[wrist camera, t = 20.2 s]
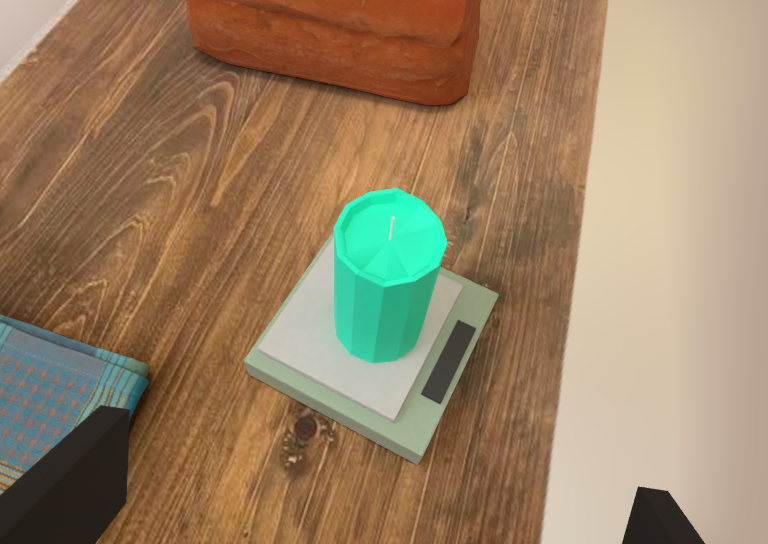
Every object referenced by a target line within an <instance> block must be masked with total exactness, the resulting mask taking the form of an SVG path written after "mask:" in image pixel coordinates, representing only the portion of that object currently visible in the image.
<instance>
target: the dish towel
mask: <svg viewBox="0 0 768 544" xmlns="http://www.w3.org/2000/svg"><path fill="white" fill-rule="evenodd" d="M149 370H150V366H149V365H148V364H146V363H143V362H140V361H138V360H135V359H133V358H129V357H126V356H124V355H120V354H117V353H114V352H110V351H107V350H104V349H101V348H98V347H94V346H91V345H88V344H86V343H83V342H80V341H76V340H74V339H71V338H69V337H65V336H62V335H59V334H57V333H54V332H51V331H48V330H45V329H42V328H39V327H37V326H34V325H31V324H29V323H25V322H23V321H20V320H16V319H13V318H10V317H7V316H4V315H1V314H0V495H1V494H2V493H3V492H4V491H5V490H6V489H7V488H9V487H10V486H11V485H12V484H13V483H14V482H15V481H16V480H18V479H19V478H20V477H21V476H22V475H23V474H24V473H25V472H26V471H28V470H29V469H30V468H31V467H32V466H33V465H34V464H35V463H36V462H38V461H39V460H40V459H41V458H42V457H43V456H44V455H45V454H46V453H48V452H49V451H50V450H51V449H52V448H53V447H54V446H55V445H56V444H58V443H59V442H60V441H61V440H62V439H63V438H64V437H65V436H67V435H68V434H69V433H70V432H71V431H72V430H73V429H74V428H75V427H77V426H78V425H79V424H80V423H81V422H82V421H83V420H84V419H85V418H87V417H88V416H89V415H90V414H91V413H92V412H93V411H94V410H95V409H97V408H98V407H99V406H100V405H104V406H110V407H117V408H124V409H130V419H131V417H132V415H133V413H134V410H135V407H136V405H137V403H138V401H139V399H140V397H141V396H142V394H143V392H144V391H145V389H146V387H147V386H148V384H149V380H147V379H146V377H147V375H148V372H149Z"/></svg>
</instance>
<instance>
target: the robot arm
mask: <svg viewBox="0 0 768 544" xmlns="http://www.w3.org/2000/svg"><path fill="white" fill-rule="evenodd" d="M129 420H130V409H124V408H117V407H110V406H104V405H100V406H99V407H98V408H97V409H95V410H94V411H93V412H92V413H91V414H90V415H89V416H88V417H87V418H85V419H84V420H83V421H82V422H81V423H80V424H79V425H78V426H77V427H75V428H74V429H73V430H72V431H71V432H70V433H69V434H68V435H67V436H65V437H64V438H63V439H62V440H61V441H60V442H59V443H58V444H56V445H55V446H54V447H53V448H52V449H51V450H50V451H49V452H48V453H46V454H45V455H44V456H43V457H42V458H41V459H40V460H39V461H38V462H36V463H35V464H34V465H33V466H32V467H31V468H30V469H29V470H28V471H26V472H25V473H24V474H23V475H22V476H21V477H20V478H19V479H18V480H16V481H15V482H14V483H13V484H12V485H11V486H10V487H9V488H7V489H6V490H5V491H4V492H3V493H2V494H1V495H0V544H95V543H96V542H97V540H98V539H99V538H100V536H101V535H102V534H103V532H104V531H105V530H106V528H107V527H108V526H109V524H110V523H111V522H112V521H113V519H114V518H115V517H116V515H117V514H118V513H119V511H120V510H121V509H122V507H123V506H124V505H125V503H126V495H127V470H128V445H129ZM622 544H705V543H704V541H703V540H702V539H701V537H700V536H699V534H698V533H697V532H696V530H695V529H694V527H693V526H692V525H691V523H690V522H689V520H688V519H687V517H686V516H685V515H684V513H683V512H682V510H681V509H680V508H679V506H678V505H677V503H676V502H675V500H674V499H673V497H672V496H671V495H670V493H669V492H668V491H664V490H657V489H651V488H645V487H638V489H637V492H636V496H635V499H634V503H633V506H632V510H631V514H630V517H629V521H628V524H627V528H626V531H625V535H624V538H623V542H622Z"/></svg>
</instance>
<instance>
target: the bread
mask: <svg viewBox="0 0 768 544" xmlns="http://www.w3.org/2000/svg"><path fill="white" fill-rule="evenodd" d="M187 16H188V20H189V25H190V29H191V33H192V38H193V42H194V46H195V47H196V48H197V49H198V50H200V51H202V52H204V53H206V54H208V55H210V56H212V57H214V58H216V59H218V60H220V61H222V62H224V63H228V64H233V65H238V66H242V67H247V68H252V69H256V70H261V71H267V72H272V73H278V74H283V75H289V76H294V77H300V78H305V79H309V80H314V81H319V82H324V83H329V84H334V85H338V86H343V87H348V88H352V89H356V90H360V91H364V92H368V93H373V94H377V95H381V96H385V97H389V98H394V99H400V100H405V101H410V102H415V103H420V104H425V105H446V104H452V103H453V102H455V101H456V100H458V99H459V98H461V97H462V96H464V95H465V94H467V93H468V87H469V82H470V76H471V71H472V66H473V60H474V55H475V51H476V46H477V42H478V38H479V17H480V0H187Z"/></svg>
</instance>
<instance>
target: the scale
mask: <svg viewBox="0 0 768 544" xmlns="http://www.w3.org/2000/svg"><path fill="white" fill-rule="evenodd" d="M498 296H499V294H498V293H496V292H493V291H491V290H489V289H487V288H485V287H483V286H481V285H479V284H476V283H474V282H472V281H470V280H468V279H466V278H464V277H461V276H459V275H457V274H455V273H453V272H451V271H449V270H447V269H444V268H442V267H440V270H439V274H438V277H437V281H436V284H435V287H434V291H433V294H432V297H431V301H430V304H429V307H428V311H427V314H426V317H425V321H424V324H423V328H422V330H421V333H420V335H419V338H418V340H417V343H416V345H415V348H413V349H412V350H410V351H409V352H408V353H406V354H405V355H404V356H402V357H401V358H400V359H398V360H397V361H390V362H381V363H371V362H368V361H366V360H363V359H360V358H358V357H355V356H353V355H351V354H350V353H349V352H348V351H347V349H346V348H345V347H344V346H343V344H342V343H341V342H340V341H339V339H338V338H337V335H336V327H335V319H334V231H333V232H332V234H331V235H330V236H329V238H328V239H327V241H326V242H325V244H324V245H323V247H322V248H321V249H320V251H319V252H318V254H317V255H316V257H315V258H314V260H313V261H312V262H311V264H310V265H309V267H308V268H307V270H306V271H305V272H304V274H303V275H302V277H301V278H300V280H299V281H298V283H297V284H296V285H295V287H294V288H293V290H292V291H291V293H290V294H289V296H288V297H287V298H286V300H285V301H284V303H283V304H282V306H281V307H280V309H279V310H278V311H277V313H276V314H275V316H274V317H273V319H272V320H271V322H270V323H269V324H268V326H267V327H266V329H265V330H264V332H263V333H262V335H261V336H260V337H259V339H258V340H257V342H256V343H255V345H254V346H253V347H252V349H251V350H250V352H249V353H248V355H247V356H246V358H245V359H244V364H245V367H246V370H247V372H248V374H249V375H251V376H253V377H255V378H256V379H258V380H260V381H262V382H264V383H266V384H268V385H270V386H271V387H273V388H275V389H277V390H279V391H281V392H283V393H284V394H286V395H288V396H290V397H292V398H294V399H296V400H297V401H299V402H301V403H303V404H305V405H307V406H309V407H310V408H312V409H314V410H316V411H318V412H320V413H322V414H323V415H325V416H327V417H329V418H331V419H333V420H335V421H336V422H338V423H340V424H342V425H344V426H346V427H348V428H349V429H351V430H353V431H355V432H357V433H359V434H361V435H362V436H364V437H366V438H368V439H370V440H372V441H374V442H375V443H377V444H379V445H381V446H383V447H385V448H387V449H388V450H390V451H392V452H394V453H396V454H398V455H400V456H401V457H403V458H405V459H407V460H409V461H411V462H413V463H414V464H416V465H418V464H419V463H420V461H421V459H422V457H423V455H424V453H425V451H426V449H427V447H428V444H429V442H430V440H431V438H432V436H433V434H434V432H435V430H436V427H437V425H438V423H439V421H440V419H441V417H442V415H443V413H444V410H445V408H446V406H447V404H448V402H449V400H450V398H451V396H452V393H453V391H454V389H455V387H456V385H457V383H458V381H459V379H460V376H461V374H462V372H463V370H464V368H465V366H466V364H467V362H468V359H469V357H470V355H471V353H472V351H473V349H474V347H475V345H476V342H477V340H478V338H479V336H480V334H481V332H482V330H483V328H484V325H485V323H486V321H487V319H488V317H489V315H490V313H491V311H492V308H493V306H494V304H495V302H496V300H497V298H498Z"/></svg>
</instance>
